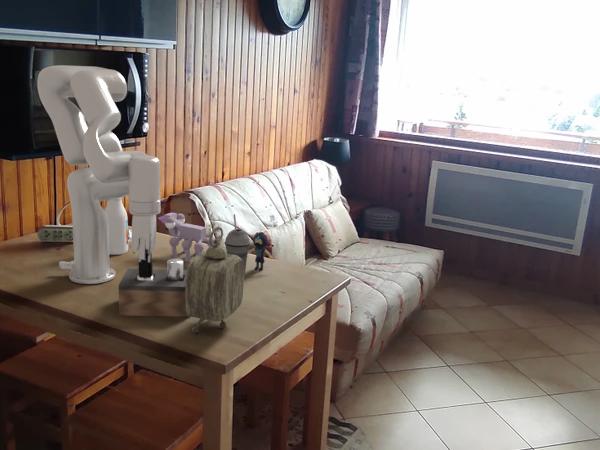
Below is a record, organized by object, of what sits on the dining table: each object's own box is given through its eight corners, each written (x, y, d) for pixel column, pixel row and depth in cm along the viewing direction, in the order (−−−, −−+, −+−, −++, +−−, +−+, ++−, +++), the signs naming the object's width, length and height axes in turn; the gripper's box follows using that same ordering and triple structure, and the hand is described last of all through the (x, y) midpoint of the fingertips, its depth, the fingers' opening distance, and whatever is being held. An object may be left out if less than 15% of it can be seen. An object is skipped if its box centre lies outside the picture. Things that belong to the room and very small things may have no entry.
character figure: (242, 268, 188) (244, 231, 185) (249, 264, 192) (250, 228, 189) (269, 274, 185) (271, 236, 182) (275, 270, 189) (277, 233, 185)
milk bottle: (124, 256, 193) (123, 194, 187) (100, 254, 193) (98, 193, 187) (131, 248, 200) (130, 189, 195) (107, 247, 200) (106, 187, 195)
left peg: (136, 307, 155) (135, 278, 152) (138, 300, 158) (138, 273, 156) (152, 307, 155) (152, 279, 153) (154, 301, 159) (154, 273, 157)
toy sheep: (147, 254, 195) (148, 213, 192) (167, 247, 205) (168, 208, 202) (199, 266, 187) (201, 223, 184) (217, 259, 197) (219, 218, 194)
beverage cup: (244, 286, 174) (247, 219, 169) (220, 283, 175) (222, 216, 170) (251, 277, 181) (254, 213, 176) (228, 274, 182) (230, 210, 177)
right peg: (166, 292, 154) (166, 263, 152) (168, 286, 158) (168, 258, 156) (182, 292, 155) (182, 264, 152) (183, 286, 158) (184, 258, 156)
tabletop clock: (211, 312, 156) (213, 218, 149) (243, 318, 153) (247, 223, 147) (184, 335, 142) (185, 233, 136) (220, 342, 140) (223, 239, 133)
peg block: (119, 315, 150) (118, 285, 148) (128, 296, 162) (127, 268, 160) (190, 316, 152) (191, 287, 150) (194, 298, 164) (194, 270, 162)
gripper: (134, 198, 156) (135, 266, 161) (123, 213, 142) (125, 286, 147) (164, 199, 157) (164, 266, 162) (156, 214, 143) (156, 287, 148)
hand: (145, 276), depth 154 cm, fingers closed
